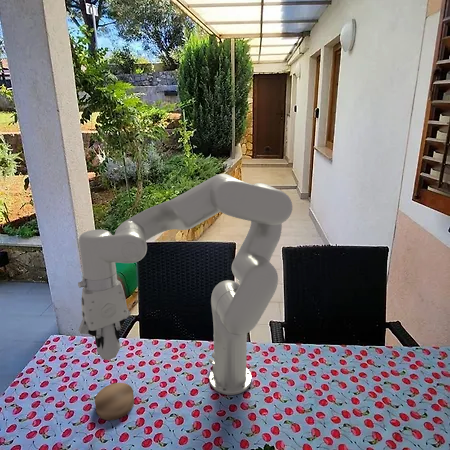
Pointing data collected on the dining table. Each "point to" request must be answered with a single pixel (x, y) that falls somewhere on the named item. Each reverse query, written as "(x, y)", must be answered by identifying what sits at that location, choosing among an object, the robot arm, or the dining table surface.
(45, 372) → the dining table surface
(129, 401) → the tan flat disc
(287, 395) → the dining table surface
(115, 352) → the salt shaker
